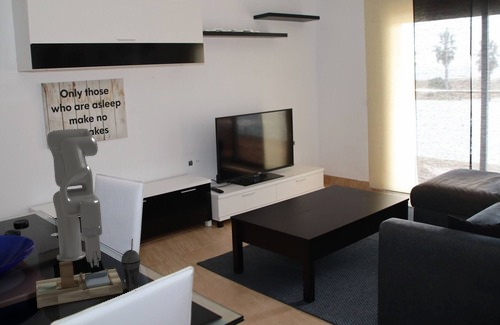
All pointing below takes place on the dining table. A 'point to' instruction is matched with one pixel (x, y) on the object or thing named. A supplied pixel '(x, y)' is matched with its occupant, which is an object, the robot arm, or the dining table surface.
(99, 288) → the puzzle board
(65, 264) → the walnut block
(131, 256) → the beverage cup
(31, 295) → the dining table surface
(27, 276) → the dining table surface
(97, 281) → the lid
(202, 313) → the dining table surface
